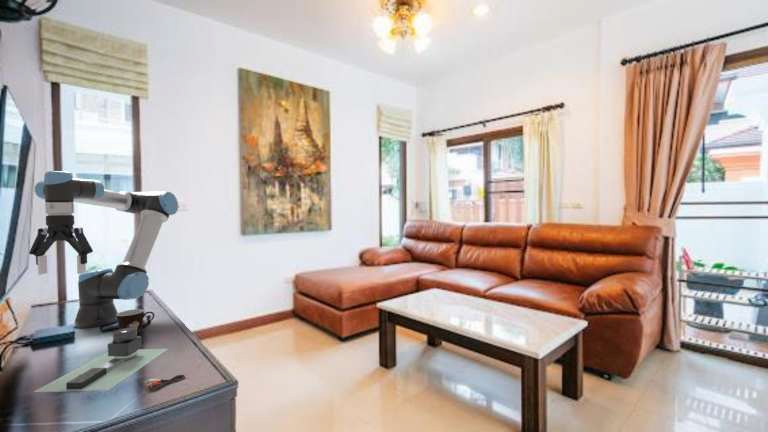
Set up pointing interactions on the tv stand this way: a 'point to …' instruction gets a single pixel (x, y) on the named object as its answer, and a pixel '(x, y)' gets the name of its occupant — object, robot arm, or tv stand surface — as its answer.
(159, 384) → the composite cable
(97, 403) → the tv stand surface
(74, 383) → the ratchet
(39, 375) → the tv stand surface
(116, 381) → the tool mat
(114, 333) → the dark grey door knob
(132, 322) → the coffee mug
